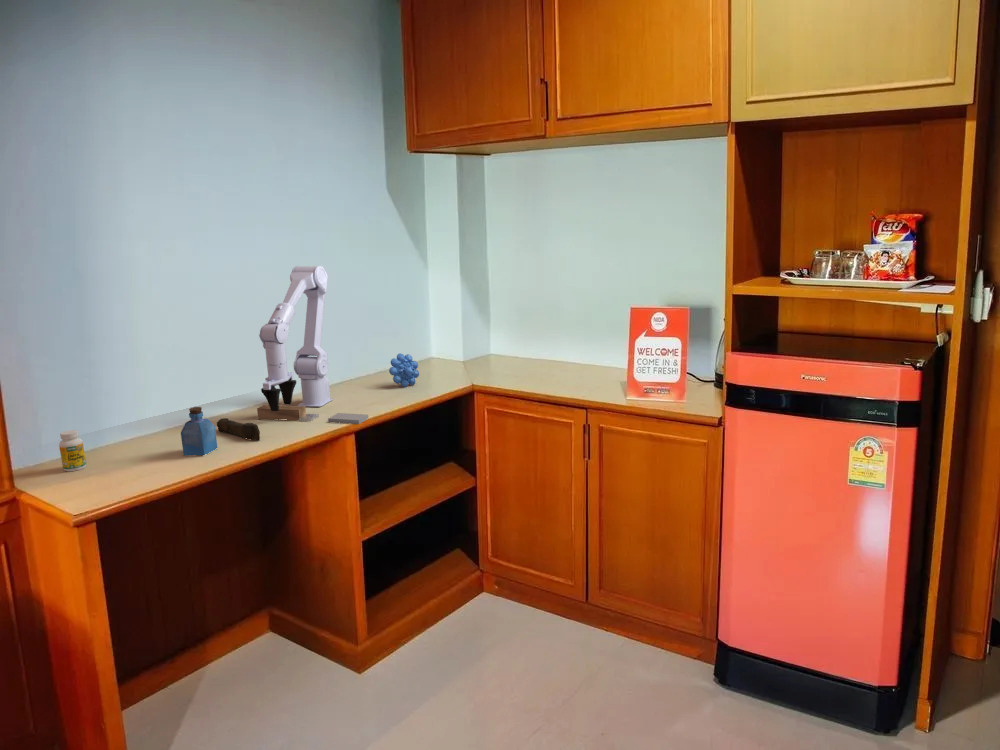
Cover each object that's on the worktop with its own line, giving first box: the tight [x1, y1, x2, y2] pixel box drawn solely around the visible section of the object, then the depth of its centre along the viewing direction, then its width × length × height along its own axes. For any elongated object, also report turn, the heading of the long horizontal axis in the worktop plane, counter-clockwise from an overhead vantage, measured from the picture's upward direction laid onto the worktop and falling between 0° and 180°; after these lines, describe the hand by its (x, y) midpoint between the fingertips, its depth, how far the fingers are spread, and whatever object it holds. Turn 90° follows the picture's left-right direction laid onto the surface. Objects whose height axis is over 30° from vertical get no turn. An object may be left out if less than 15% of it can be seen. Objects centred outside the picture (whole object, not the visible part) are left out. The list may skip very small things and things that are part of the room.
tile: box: [327, 412, 369, 425], centre depth 244 cm, size 6×2×10 cm
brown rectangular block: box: [256, 404, 320, 422], centre depth 249 cm, size 5×18×4 cm, turn 75°
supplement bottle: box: [58, 429, 87, 472], centre depth 208 cm, size 5×5×10 cm
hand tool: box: [216, 417, 261, 441], centre depth 232 cm, size 19×4×5 cm, turn 46°
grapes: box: [388, 353, 420, 388], centre depth 281 cm, size 12×7×12 cm, turn 128°
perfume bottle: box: [180, 406, 218, 456], centre depth 217 cm, size 6×6×12 cm
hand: (281, 407), depth 249 cm, fingers open, 7 cm apart
